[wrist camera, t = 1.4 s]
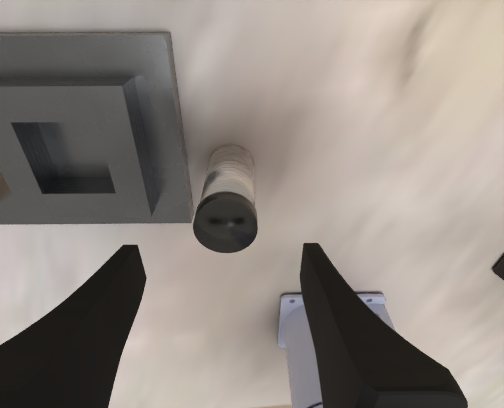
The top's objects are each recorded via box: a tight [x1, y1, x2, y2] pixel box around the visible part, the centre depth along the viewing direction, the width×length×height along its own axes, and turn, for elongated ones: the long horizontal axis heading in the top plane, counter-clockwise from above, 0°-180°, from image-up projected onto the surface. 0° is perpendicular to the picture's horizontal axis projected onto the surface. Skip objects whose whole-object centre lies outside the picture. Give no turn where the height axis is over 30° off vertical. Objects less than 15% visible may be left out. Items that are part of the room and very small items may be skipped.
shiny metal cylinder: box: [193, 144, 258, 253], centre depth 19 cm, size 3×3×7 cm
